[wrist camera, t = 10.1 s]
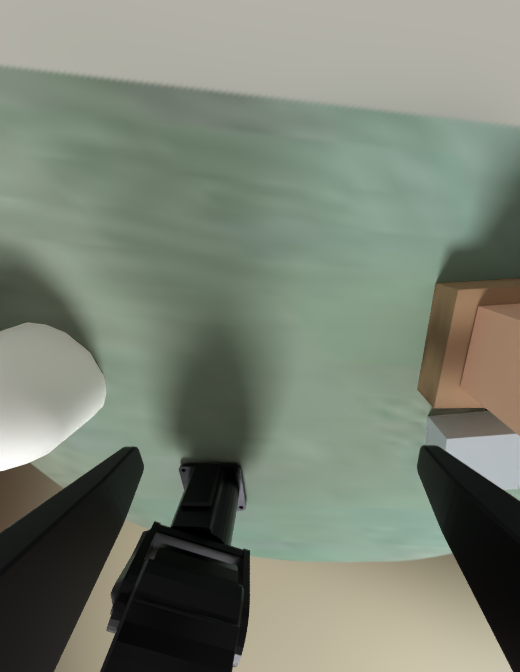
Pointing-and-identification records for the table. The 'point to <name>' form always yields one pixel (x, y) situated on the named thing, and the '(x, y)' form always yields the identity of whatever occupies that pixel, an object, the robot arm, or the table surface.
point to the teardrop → (43, 391)
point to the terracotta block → (495, 362)
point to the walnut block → (457, 336)
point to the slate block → (479, 444)
